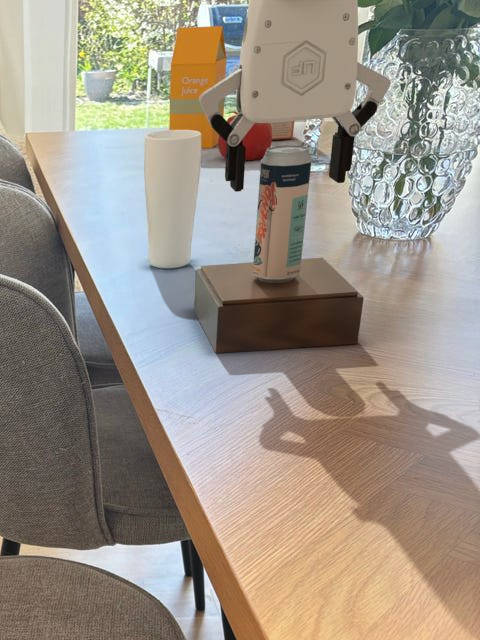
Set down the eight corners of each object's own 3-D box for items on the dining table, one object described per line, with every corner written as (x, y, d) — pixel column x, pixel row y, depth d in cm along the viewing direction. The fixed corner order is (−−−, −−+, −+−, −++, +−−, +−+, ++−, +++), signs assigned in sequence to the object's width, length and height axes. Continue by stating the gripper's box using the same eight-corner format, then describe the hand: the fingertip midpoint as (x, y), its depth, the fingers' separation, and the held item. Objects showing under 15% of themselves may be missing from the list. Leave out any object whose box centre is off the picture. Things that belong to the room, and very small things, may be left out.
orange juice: (180, 140, 202) (183, 26, 190) (222, 140, 198) (229, 23, 187) (168, 147, 196) (171, 29, 184) (211, 148, 192) (217, 27, 181)
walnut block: (320, 302, 109) (326, 255, 107) (357, 344, 98) (364, 292, 95) (193, 311, 110) (195, 264, 107) (215, 353, 99) (218, 302, 96)
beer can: (255, 271, 104) (264, 144, 97) (302, 272, 102) (315, 144, 95) (248, 284, 100) (258, 153, 93) (297, 285, 99) (310, 153, 92)
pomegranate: (255, 150, 187) (259, 95, 182) (281, 158, 179) (286, 100, 174) (207, 156, 185) (209, 100, 180) (230, 165, 177) (234, 106, 172)
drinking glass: (140, 258, 129) (142, 131, 121) (192, 255, 129) (198, 127, 120) (144, 272, 124) (147, 140, 115) (199, 269, 123) (205, 136, 115)
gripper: (211, -17, 84) (203, 200, 93) (418, -36, 83) (388, 184, 93) (196, -19, 90) (191, 184, 100) (390, -37, 89) (365, 170, 99)
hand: (286, 184), depth 96 cm, fingers open, 9 cm apart
